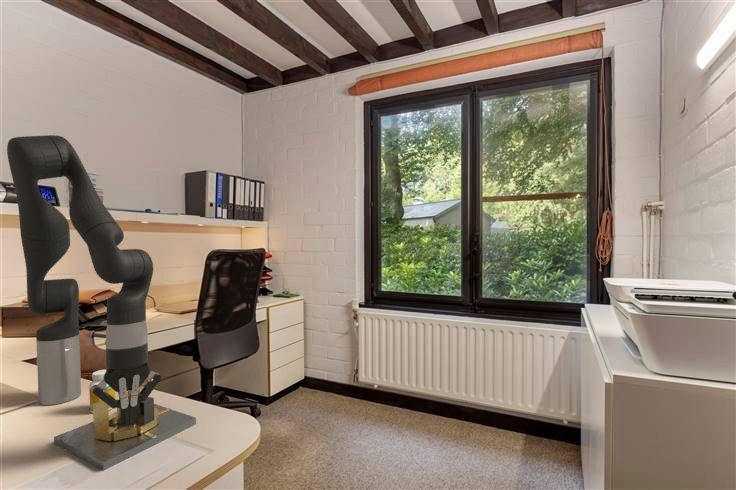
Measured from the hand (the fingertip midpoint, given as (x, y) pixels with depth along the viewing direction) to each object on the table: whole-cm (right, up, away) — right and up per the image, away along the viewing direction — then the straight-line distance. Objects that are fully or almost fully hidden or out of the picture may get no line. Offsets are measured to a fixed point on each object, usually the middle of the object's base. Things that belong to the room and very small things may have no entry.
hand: (128, 423), depth 81 cm
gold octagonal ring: (-3, -3, +5) cm, 6 cm away
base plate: (-3, -5, +5) cm, 7 cm away
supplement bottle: (-18, -5, +18) cm, 25 cm away
